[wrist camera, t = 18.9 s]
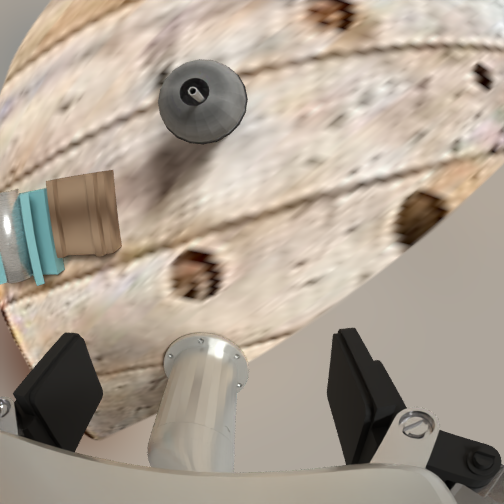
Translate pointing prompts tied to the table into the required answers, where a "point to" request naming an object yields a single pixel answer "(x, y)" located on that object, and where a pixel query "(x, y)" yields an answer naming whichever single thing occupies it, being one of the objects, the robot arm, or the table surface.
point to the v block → (38, 236)
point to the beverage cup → (202, 101)
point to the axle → (13, 239)
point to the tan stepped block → (84, 214)
